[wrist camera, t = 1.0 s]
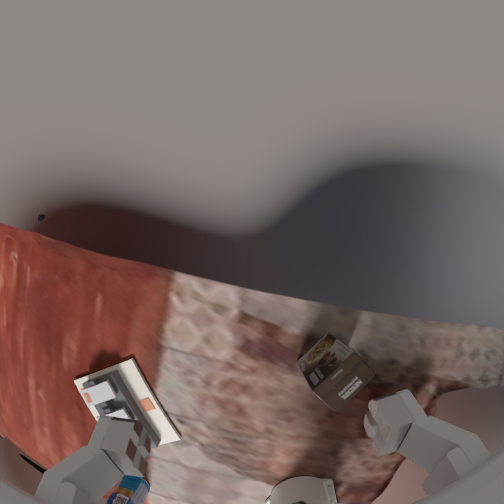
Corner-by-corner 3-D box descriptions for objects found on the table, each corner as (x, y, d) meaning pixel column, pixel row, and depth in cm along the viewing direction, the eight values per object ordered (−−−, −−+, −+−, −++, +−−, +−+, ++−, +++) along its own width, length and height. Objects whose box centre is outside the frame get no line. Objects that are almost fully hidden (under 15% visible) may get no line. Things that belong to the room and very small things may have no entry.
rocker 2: (133, 421, 49) (132, 424, 47) (106, 430, 47) (104, 432, 45) (124, 407, 49) (122, 409, 48) (97, 416, 47) (95, 418, 46)
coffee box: (315, 380, 53) (335, 414, 37) (295, 361, 54) (310, 392, 38) (347, 350, 54) (377, 375, 38) (328, 330, 54) (354, 350, 38)
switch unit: (181, 437, 52) (175, 451, 46) (119, 450, 52) (110, 462, 46) (133, 357, 54) (121, 365, 48) (75, 379, 54) (62, 387, 47)
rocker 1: (117, 395, 49) (115, 397, 48) (90, 405, 47) (88, 407, 46) (108, 379, 49) (106, 381, 48) (81, 389, 47) (79, 391, 46)
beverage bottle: (156, 488, 51) (134, 534, 31) (138, 494, 51) (115, 536, 31) (135, 469, 52) (106, 513, 32) (117, 475, 51) (89, 515, 31)
